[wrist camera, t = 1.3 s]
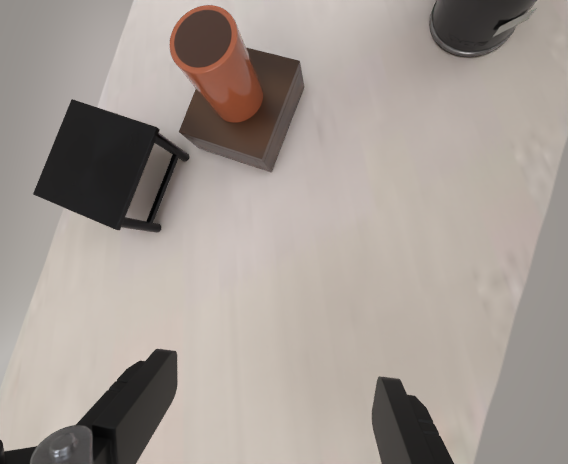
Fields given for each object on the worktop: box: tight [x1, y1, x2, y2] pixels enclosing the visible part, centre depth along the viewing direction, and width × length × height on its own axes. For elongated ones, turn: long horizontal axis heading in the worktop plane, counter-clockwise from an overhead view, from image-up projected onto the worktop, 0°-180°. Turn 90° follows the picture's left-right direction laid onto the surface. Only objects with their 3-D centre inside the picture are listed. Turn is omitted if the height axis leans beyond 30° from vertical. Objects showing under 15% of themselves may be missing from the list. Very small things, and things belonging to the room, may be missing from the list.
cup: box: [170, 5, 263, 123], centre depth 29 cm, size 6×6×9 cm
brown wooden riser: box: [179, 48, 304, 172], centre depth 36 cm, size 12×11×5 cm
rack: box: [34, 100, 189, 232], centre depth 36 cm, size 12×12×8 cm
